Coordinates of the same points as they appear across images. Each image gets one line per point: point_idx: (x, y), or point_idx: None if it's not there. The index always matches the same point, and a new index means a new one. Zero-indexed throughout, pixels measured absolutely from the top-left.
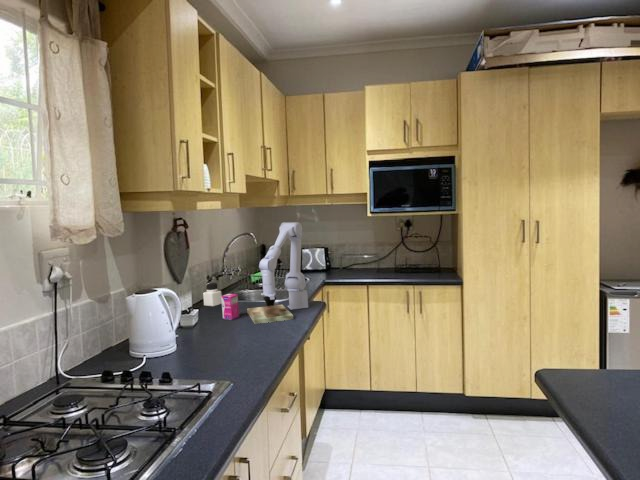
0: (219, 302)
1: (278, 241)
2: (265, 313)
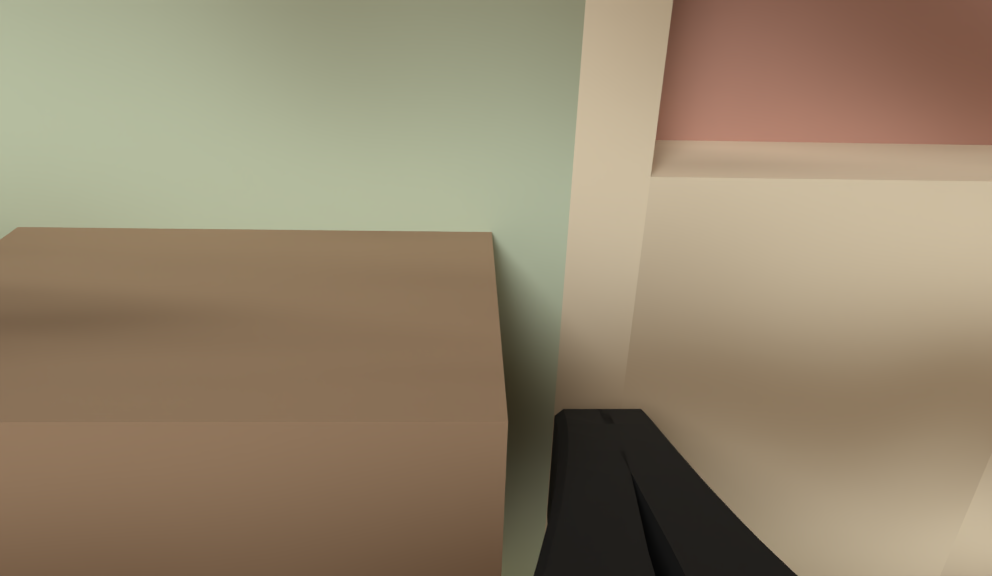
0: None
1: None
2: (220, 277)
